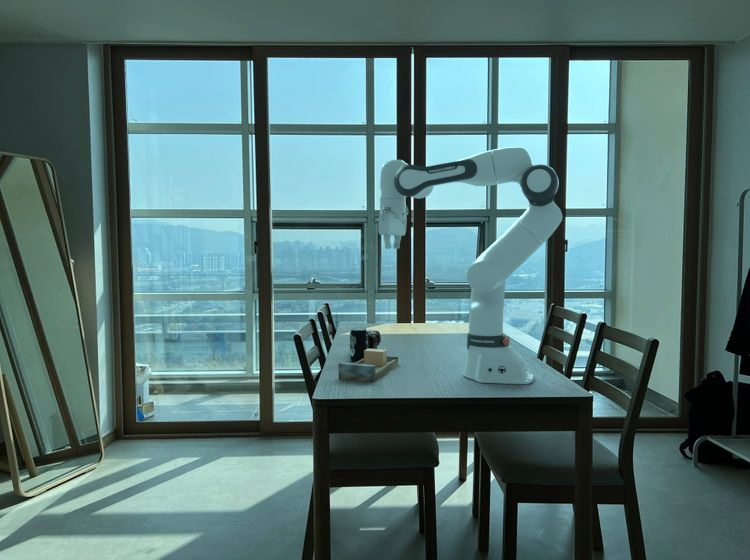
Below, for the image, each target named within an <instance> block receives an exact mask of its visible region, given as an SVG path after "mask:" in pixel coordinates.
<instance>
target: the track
mask: <svg viewBox="0 0 750 560" xmlns="http://www.w3.org/2000/svg"><path fill="white" fill-rule="evenodd" d="M398 365H399V356H397V355H387V364H386V365H384V366H376V365H367V364H364V358H363V359H361V360H359V361H358V362H354V363H353V362H343V361H341V362H339V363H338V380H344V381H345V380H347V381H348V380H349V381H358V382H365V383H374V382H376V381H378V379H381V377H383V376H384V375H386V374H387V373H388V372H390V371H392V369H395V367H397V366H398Z"/></svg>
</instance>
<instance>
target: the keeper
mask: <svg viewBox="0 0 750 560" xmlns="http://www.w3.org/2000/svg"><path fill="white" fill-rule="evenodd" d="M387 351H388V350H387V349H381V348H377V349H366V350H364V364H367V365H376V366H384V365H386V364H387V356H388V355H387V354H388V353H387Z"/></svg>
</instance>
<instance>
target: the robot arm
mask: <svg viewBox="0 0 750 560" xmlns="http://www.w3.org/2000/svg"><path fill="white" fill-rule="evenodd" d="M380 170H381V171H380V179H379V180H380V181H379V182H380V183H379V189H380V193H381V194H380V197H379V216H378V228H377V229H378V235H380V236H383V241H384V248H385V250H387V249H388V250H389V249H390V250H391V249H392V243H391V237H392V236H393V241H394V242H393V249H396V250H397V249H398V250H399V249H400V246H401V245H400V244H401V240H402V237H404V236H405V235H406V232H407V223H408V222H407V221H408V218H407V215H409V208H408V206H407V204H406V198H407V197H410V198H414V199H424V198H427V197H428V196H430V195H431V193H432V191H433V189H434V187H435V186H441V185H446V184H451V183H461V184H467V185H471V186H475V187H491V186H496V185H502V184H506V183H507V184H508V183H516V184H519V186H520V187H521V192H522V193H523V195H524V196H523V197H525V198H526V199H527V200H528V207H527V209H526V210H524V213H523V214H522V215H520V217H519V218H517V220H515V222H513V223H512V224H511V226H509V227H508V228H507V230H505V232H503V233H502V235H500V236H499V237H498V238H497V239H496V240H495V241H494V242H493V243H492V244H491V245H489V246H488V248H486V249H485V250H484V251H483V252H482V253H481V254H480V255H479V256H478V257H477V258H476V259H475V260H474V261H473V262H472V263H471V264H470V265H469V266H468V268H467V271H466V281H467V283H468V286H469V287H470V288H471V290H470V291H471V293H470V301H469V307H468V332H467V334H466V349H467V357H466V360H465V361H466V362H465V367H464V370H463V373H462V375H463V377H465V378H468V379H470V380H473V381H476V382H477V383H482V384H483V383H486V384H487V383H488V384H506V385H508V384H509V385H529V384H531V383H532V382H533V381H534V380H535V378H534V376H535V375H534V374H533V373H532V372H530V371H528V369H527V368H528V367H527V364H526V360H525V358H524V357H523V356H522V355H521V354H519V353H518V352H517V351H516V350H514V349H513V348H512V347H511V346H510V343H511V342H510V341H511V340H510V336H509V335H506V334H505V333H504V307H505V306H504V305H505V293H506V280H507V279H508V278H510V276H511V275H512V274H513V273H514V272H515V271H516V270H517V269H519V268H520V267H521V266H522V265H523V264H524V263H525V262H526V261H527V260H528V259H529V258H531V256H532V255H533V254H534V253H535V252H536V251H538V249H539V248H540V247H542V246H543V244H544V243H545V242H546V241H547V240H549V238H550V237H551V236H552V235H553V234H554V232H555V231H556V230H557V228H558V227H559V226H560V224H561V222H562V221H563V214H562V210H561V208H560V207H559V206H558V205H557V204H556V202H555V201H554V199H555V196H556V194H557V192H558V189H559V186H560V185H559V183H560V182H559V178H558V177H559V176H558V174H557V172H556V171H555V170H554V168H552V166H549V165H547V164H543V163H539V164H534V163H533V160H532V156H531V154H530V153H529V151H528V150H527V149H526V148H525V147H522V146H511V147H501V148H496V149H491V150H486V151H484V152H480V153H477V154H473V155H471V156H468V157H464V158H462V159H461V158H460V159H458V160H455V161H451V162H443V163H439V164H435V165H429V166H428V165H427V166H421V165H417V164H411V163H406V162H405V161H404V160H402V159H393V160H389V161H386V162H385V163H384V164H382V166H381V169H380Z"/></svg>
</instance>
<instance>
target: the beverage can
mask: <svg viewBox="0 0 750 560" xmlns="http://www.w3.org/2000/svg"><path fill="white" fill-rule="evenodd" d="M367 331H368V330H367V328H366V327H352V328H351V329H350V332H349V339H350V340H349V358H350V361H351V362H354V363H356V362H358V361H359V360H361V359H363V358H364V350H366V349H368V332H367Z"/></svg>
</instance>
